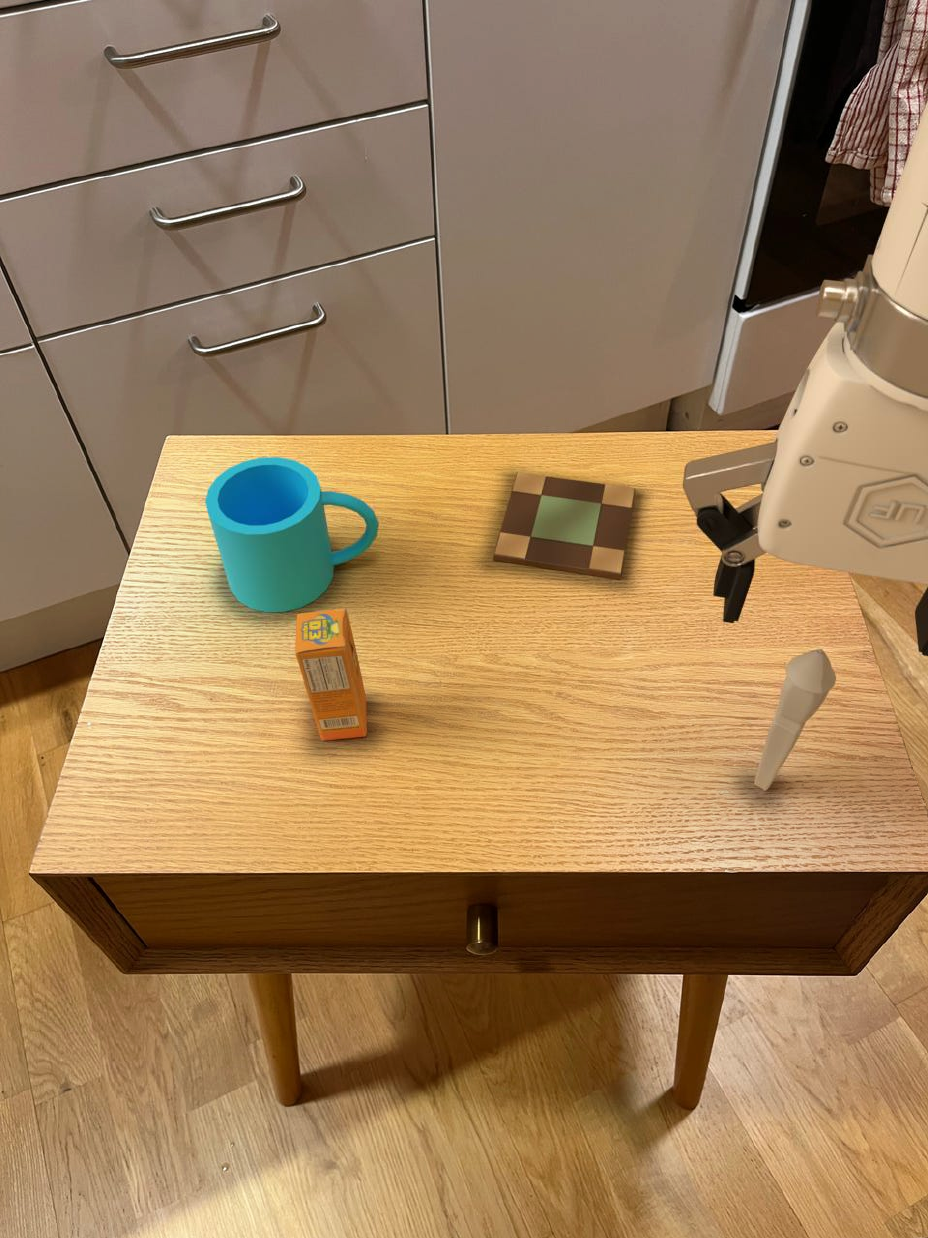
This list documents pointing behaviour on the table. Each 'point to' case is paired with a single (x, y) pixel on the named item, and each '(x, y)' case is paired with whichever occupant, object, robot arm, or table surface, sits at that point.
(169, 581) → the table surface
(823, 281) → the robot arm
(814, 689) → the beige tapered rod
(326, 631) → the supplement box
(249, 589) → the mug
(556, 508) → the board
